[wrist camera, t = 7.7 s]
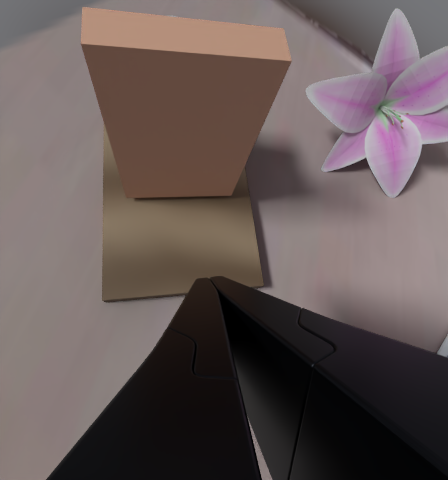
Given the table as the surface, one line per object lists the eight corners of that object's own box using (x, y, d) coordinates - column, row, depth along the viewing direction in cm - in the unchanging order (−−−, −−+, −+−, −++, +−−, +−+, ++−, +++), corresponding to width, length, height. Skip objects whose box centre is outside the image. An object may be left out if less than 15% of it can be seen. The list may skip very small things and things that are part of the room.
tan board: (259, 288, 20) (263, 285, 19) (105, 302, 18) (102, 300, 17) (233, 121, 24) (236, 112, 23) (106, 117, 22) (103, 107, 21)
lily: (261, 126, 26) (310, 95, 17) (351, 26, 26) (452, -63, 16) (343, 215, 29) (423, 231, 20) (425, 127, 29) (546, 101, 19)
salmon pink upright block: (231, 195, 20) (291, 61, 10) (126, 197, 19) (80, 43, 9) (215, 81, 23) (250, -106, 13) (124, 75, 22) (89, -140, 12)
